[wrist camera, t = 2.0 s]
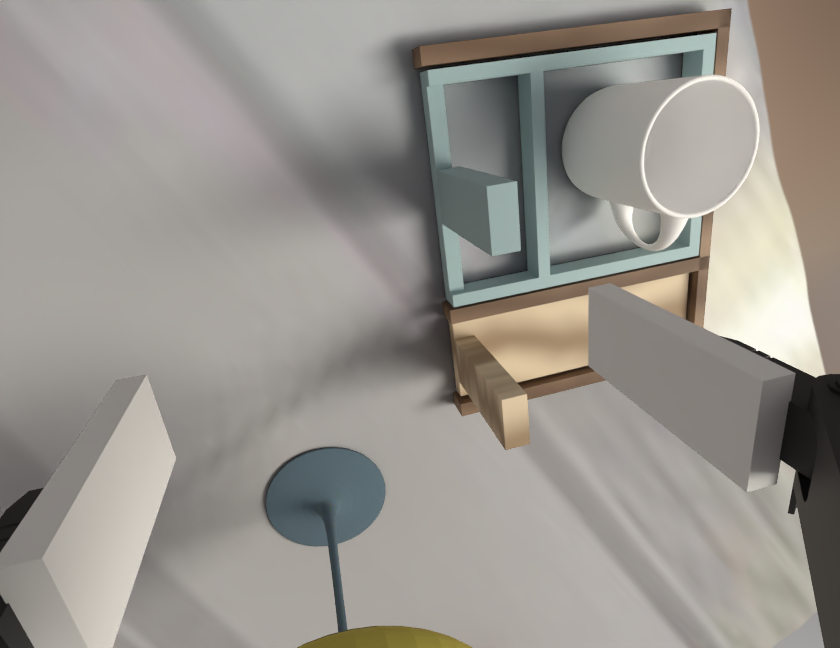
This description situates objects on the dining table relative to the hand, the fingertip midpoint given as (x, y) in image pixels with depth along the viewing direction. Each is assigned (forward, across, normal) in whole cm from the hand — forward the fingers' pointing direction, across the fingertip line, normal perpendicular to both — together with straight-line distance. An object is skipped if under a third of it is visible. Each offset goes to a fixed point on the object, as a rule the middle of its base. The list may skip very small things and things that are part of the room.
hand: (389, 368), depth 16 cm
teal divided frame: (+26, +20, +1) cm, 33 cm away
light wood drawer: (+27, +20, -13) cm, 36 cm away
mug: (+27, +23, +1) cm, 35 cm away
